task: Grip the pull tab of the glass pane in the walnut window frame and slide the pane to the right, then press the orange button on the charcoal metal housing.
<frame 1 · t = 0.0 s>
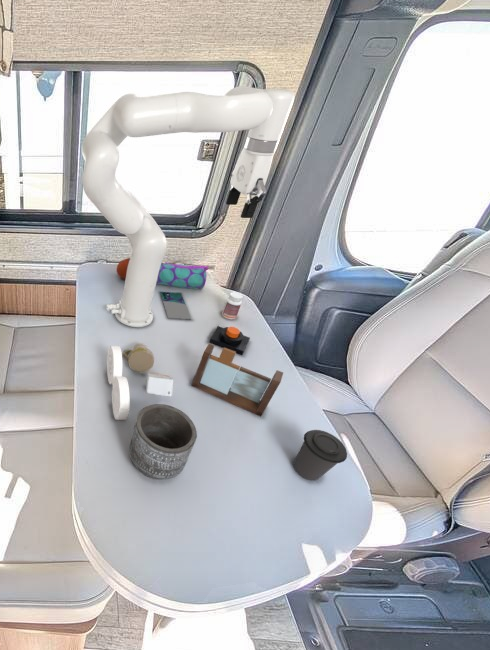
hand: (238, 210, 110), 37 cm above the table, tool pointing down, fingers open, 9 cm apart
fruit: (126, 278, 151), on the table
button housing: (228, 342, 122), on the table
letter: (114, 394, 103), on the table
pencil case: (173, 285, 148), on the table
mug: (136, 362, 113), on the table
window pane: (221, 369, 100), point 8 cm above the table, slide at 0.0 cm
planter: (153, 463, 87), on the table
window frame: (226, 396, 104), on the table
coffee cup: (306, 470, 87), on the table
cosmetic box: (157, 381, 105), point 2 cm above the table
smartphone: (174, 305, 137), on the table
pill bottle: (228, 316, 133), on the table
button: (232, 332, 119), point 4 cm above the table, slide at 0.1 cm
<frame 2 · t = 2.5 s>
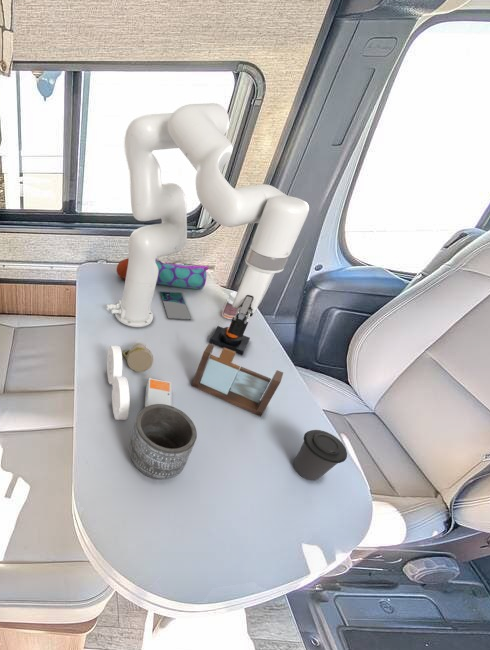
hand: (240, 323, 92), 22 cm above the table, tool pointing down, fingers open, 9 cm apart
cosmetic box: (158, 384, 103), point 2 cm above the table
everything else where it was.
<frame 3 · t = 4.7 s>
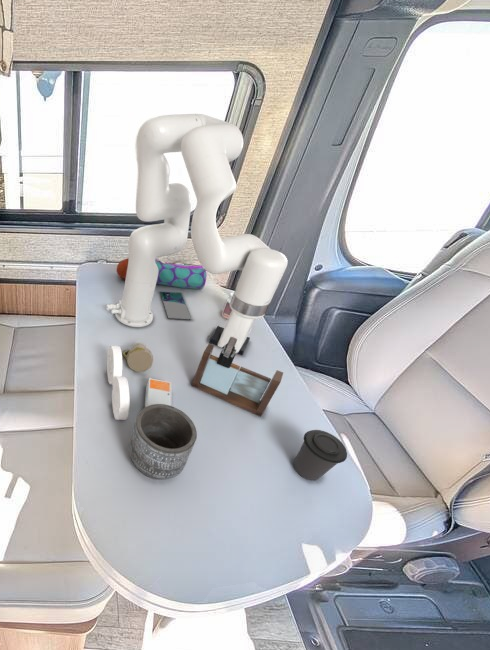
hand: (224, 363, 98), 11 cm above the table, tool pointing down, fingers closed
window pane: (221, 369, 100), point 8 cm above the table, slide at 0.0 cm, touching gripper
everything else where it was.
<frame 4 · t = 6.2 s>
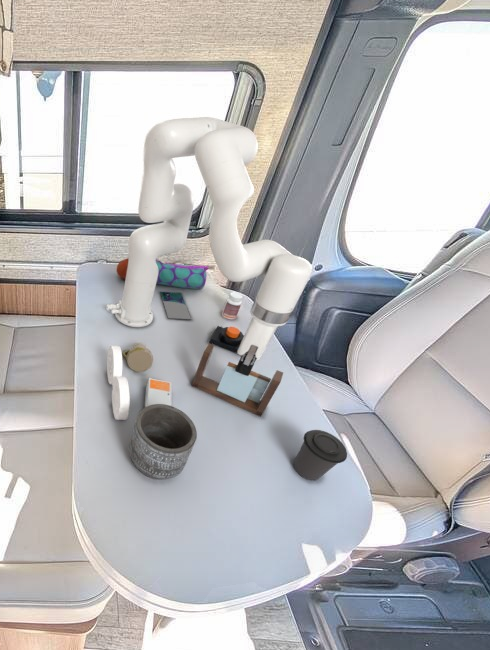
hand: (242, 370, 96), 11 cm above the table, tool pointing down, fingers closed
window pane: (239, 377, 98), point 8 cm above the table, slide at 4.5 cm, touching gripper
everything else where it was.
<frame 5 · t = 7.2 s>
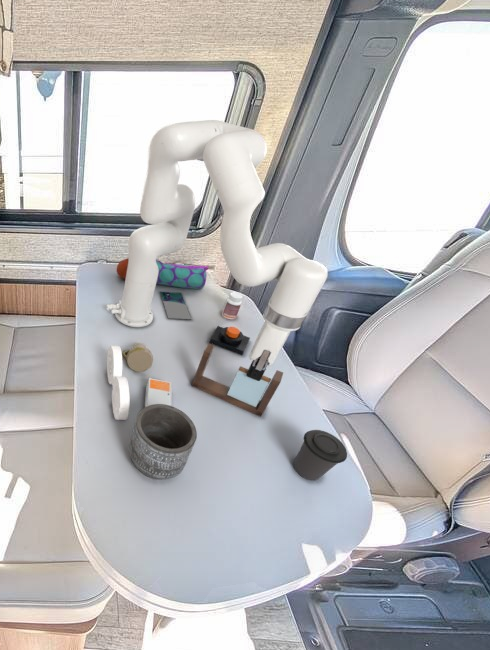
hand: (253, 375, 95), 11 cm above the table, tool pointing down, fingers closed
window pane: (250, 382, 97), point 8 cm above the table, slide at 7.2 cm
everything else where it was.
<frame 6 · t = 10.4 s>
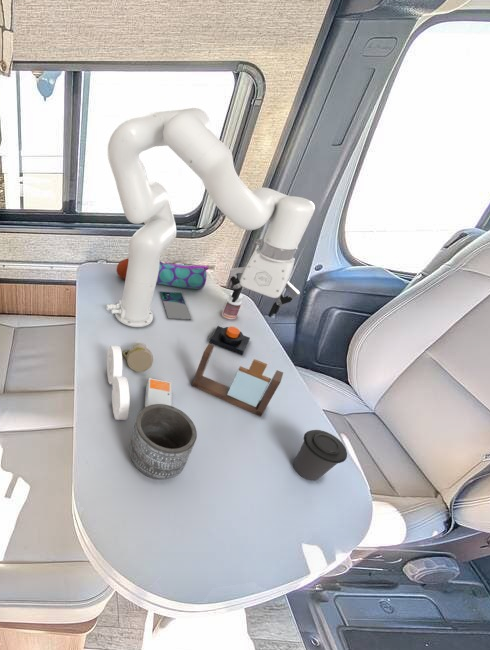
hand: (252, 307, 105), 18 cm above the table, tool pointing down, fingers open, 9 cm apart
nothing on the table moved.
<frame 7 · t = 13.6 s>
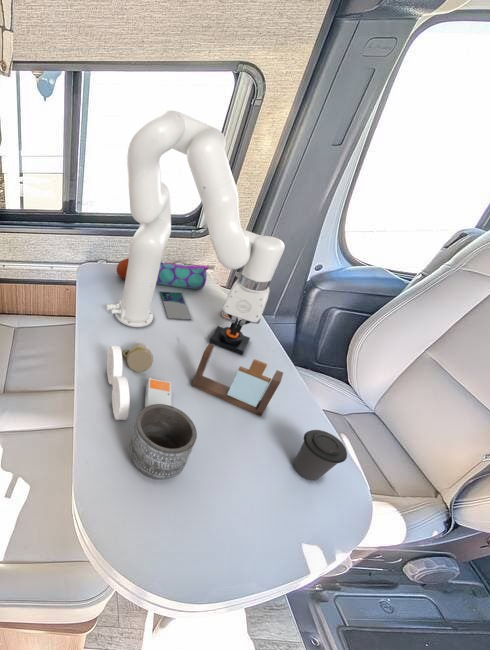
hand: (233, 332, 119), 4 cm above the table, tool pointing down, fingers closed
button: (231, 334, 120), point 3 cm above the table, slide at -0.8 cm, touching gripper
everything else where it was.
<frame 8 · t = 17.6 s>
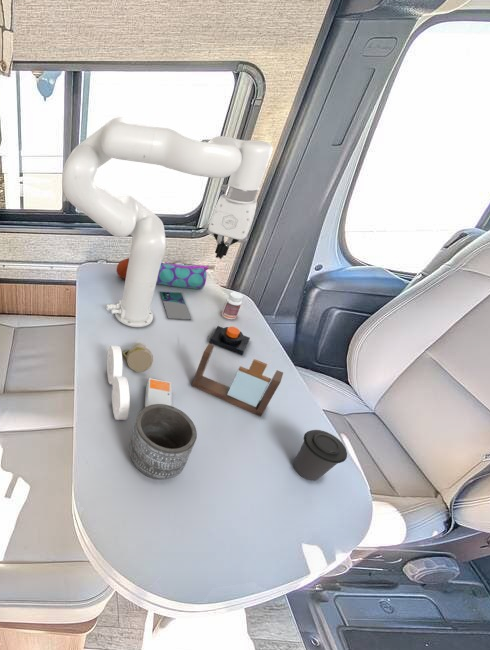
hand: (219, 256, 113), 25 cm above the table, tool pointing down, fingers closed
button: (232, 332, 119), point 4 cm above the table, slide at 0.1 cm
everything else where it was.
at the end: window pane slide at 7.2 cm; button pushed in 1.1 cm at the most during the clip, back to where it started at the end; button slide at 0.1 cm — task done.
